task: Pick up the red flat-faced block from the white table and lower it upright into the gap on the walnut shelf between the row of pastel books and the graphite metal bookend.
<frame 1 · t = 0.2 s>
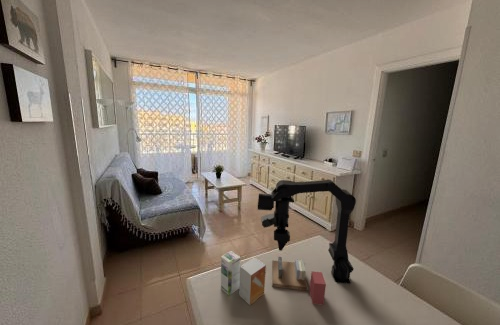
hand: (279, 243, 88), 14 cm above the table, tool pointing down, fingers open, 9 cm apart
small box: (251, 294, 79), on the table
syrup box: (230, 288, 82), on the table
red flat-faced block: (316, 297, 79), on the table
shelf: (288, 275, 90), on the table
bookend: (279, 274, 90), resting on shelf
shelved books: (299, 276, 89), resting on shelf
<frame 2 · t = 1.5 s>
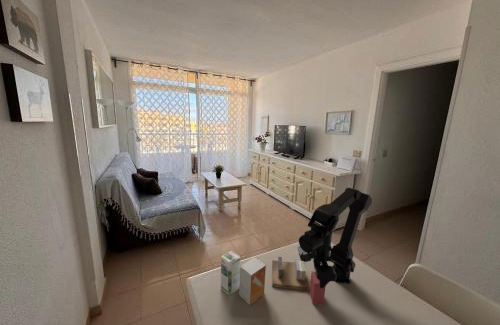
hand: (318, 278, 77), 9 cm above the table, tool pointing down, fingers open, 9 cm apart
nothing on the table moved.
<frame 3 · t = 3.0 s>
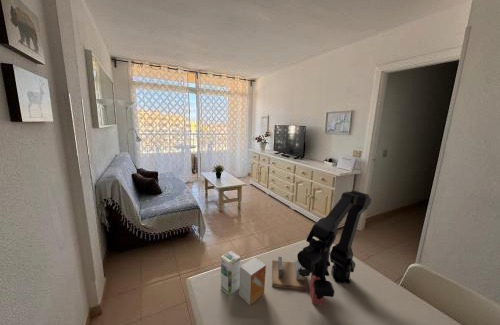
hand: (316, 291, 78), 3 cm above the table, tool pointing down, fingers closed on red flat-faced block, 6 cm apart
red flat-faced block: (316, 297, 79), on the table, touching gripper
everything else where it was.
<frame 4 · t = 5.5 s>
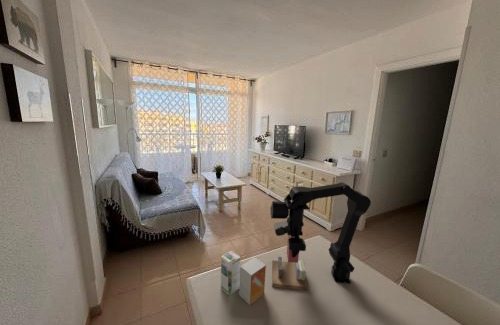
hand: (292, 252, 86), 13 cm above the table, tool pointing down, fingers closed on red flat-faced block, 6 cm apart
red flat-faced block: (292, 257, 86), point 10 cm above the table, touching gripper
everything else where it was.
when the fingers open (5 cm above the table, at t = 7.9 s): red flat-faced block stays where it is, resting on shelf.
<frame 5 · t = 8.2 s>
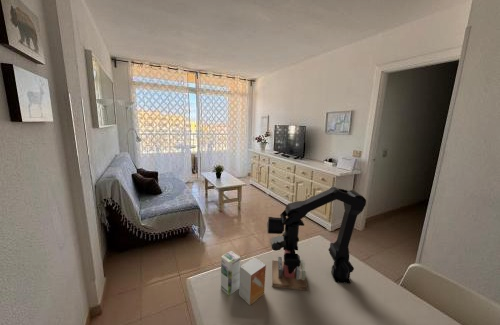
hand: (288, 265, 89), 5 cm above the table, tool pointing down, fingers open, 9 cm apart
red flat-faced block: (288, 272, 89), point 1 cm above the table, touching shelf
everything else where it was.
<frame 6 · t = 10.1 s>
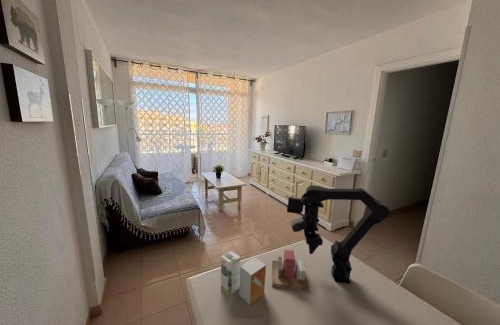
hand: (308, 247, 91), 12 cm above the table, tool pointing down, fingers open, 9 cm apart
nothing on the table moved.
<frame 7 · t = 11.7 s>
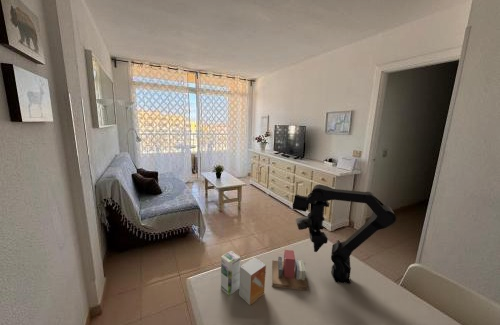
hand: (313, 245, 92), 12 cm above the table, tool pointing down, fingers open, 9 cm apart
nothing on the table moved.
at the end: red flat-faced block 0.0 cm off-centre on the shelf, point 1.5 cm above the shelf's base; red flat-faced block tilted 0°; the gripper is holding nothing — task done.
